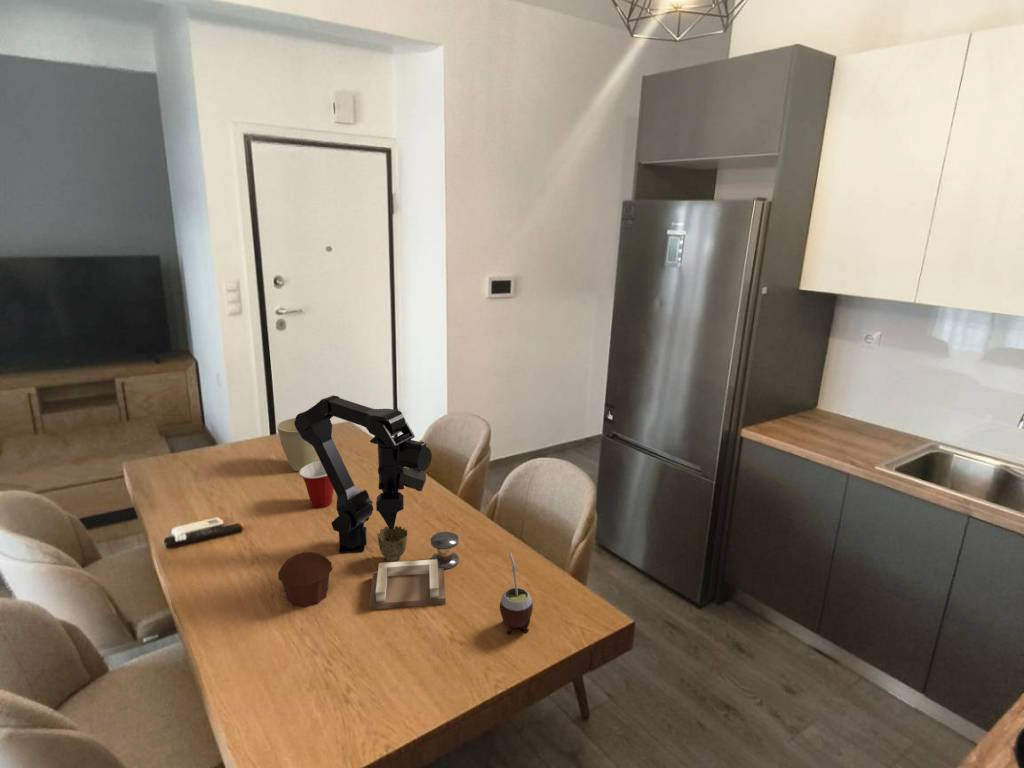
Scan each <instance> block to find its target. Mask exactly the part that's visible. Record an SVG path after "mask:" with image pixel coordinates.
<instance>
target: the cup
mask: <svg viewBox="0 0 1024 768" xmlns="http://www.w3.org/2000/svg"><path fill="white" fill-rule="evenodd" d="M377 540H378V541H377V542H378V546H379V550H380V553H381V554H382V555H381V556H383V557H385V560H386V563H388V562H400V560H401V558H402V556H403V554H404V553H405V551H406V549H407V548H406V547H407V540H408V529H406V528H405V527H403V528H402V526H401V525H399V526H398V525H394V529H389V527H388V526H384V527H383V528H380V529H379V533H377Z"/></svg>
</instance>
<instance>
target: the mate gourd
mask: <svg viewBox="0 0 1024 768" xmlns="http://www.w3.org/2000/svg"><path fill="white" fill-rule="evenodd" d="M508 554H509V557H510V560H511V565H512V567H511V569H512V570H511V571H512V572H513V583H514V584H513V585H514V587H512V588H509V589H507V590H506V591H505V592H504V593H503V594H502V596H501V598H500V602H499V611H500V615H501V618H502V623H504V624H506V626H507V631H506V635H508V636H511V635H512V633H514V632H515V630H519V631H520V632H524V633H526V634H527V633H529V630H530V629H529V628H528V627H529V626H530V622H531V616H532V613H533V609H534V605H533V599H532V597H531V594H530V593H529V592H528V591H527V590H526V589H524V588H520V587H518V583H517V581H518V580H517V567H516V564H515V560H514V557H513V554H512V551H508Z"/></svg>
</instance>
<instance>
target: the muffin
mask: <svg viewBox="0 0 1024 768" xmlns="http://www.w3.org/2000/svg"><path fill="white" fill-rule="evenodd" d="M332 569H333V565H332V561H330V560H329V558H327V557H326V556H324V555H322V554H321V553H319V552H313V551H306V552H305V551H304V552H300V553H297V554H295V555H293V556H291V557H289V558H287V560H285V562H283V564H282V565H281V566H280V569H279V571H278V572H277V576H278V580H279V581H281V583H282V587H283V590H284V593H285V596H286V600H287V601H288V603H290V604H291V605H292V606H293V607H301V608H307V607H311V606H315V605H319V603H320V602H321V601H323V600H325V599H326V598H327V593H328V590H329V581H330V573H331V572H332Z"/></svg>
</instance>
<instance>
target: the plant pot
mask: <svg viewBox="0 0 1024 768" xmlns="http://www.w3.org/2000/svg"><path fill="white" fill-rule="evenodd" d="M295 418H296V417H292V418H287V419H284V420H282V421H280V422H278V423H277V425H276V428H277V433H278V437H279V441H280V443H281V446H282V447H281V448H282V449H283V452H284V455H285V458H286V460H287V462H288V463H289V465H290V467H291V469H292V470H293V471H295V472H299V471H300V470H301V468H303V467H304V466H306V465H308V464H310V463H313V462H318V459H319V457H318V455H317V453H316V451H315V449H314V447H313V446H312V445H311V444H310V443H308V442H307V441H305V440H304V439H303V438H302V437H301V435H300V434H299V432H298V431H297V429H296V427H295V424H294V422H295Z"/></svg>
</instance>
